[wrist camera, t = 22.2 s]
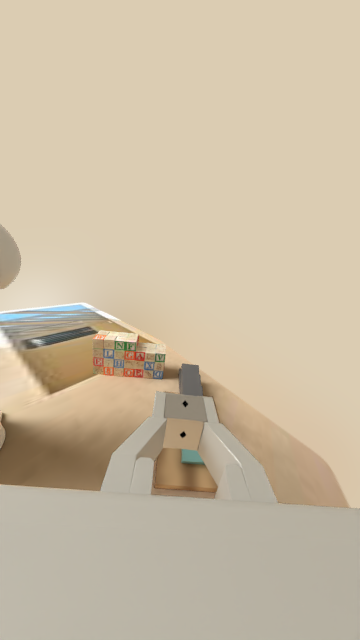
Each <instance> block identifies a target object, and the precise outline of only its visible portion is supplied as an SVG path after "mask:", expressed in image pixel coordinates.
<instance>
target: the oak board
mask: <svg viewBox="0 0 360 640" xmlns="http://www.w3.org/2000/svg"><path fill="white" fill-rule="evenodd" d="M165 393H166V392H165ZM168 393H173V392H168ZM175 394H180V393H175ZM205 397H212V396H205ZM212 398H213V397H212ZM213 401H214V400H213ZM214 405H215V404H214ZM216 412H217V411H216ZM217 416H218V415H217ZM218 420H219V419H218ZM181 457H182V449H177V448H163V449H162V450H161V452H160V454H159V455H158V457H157V467H156V477H155V488H163V489H178V490H192V491H206V492H217V489H218V486H217V484H216V482H215V481H214V479H213V477H212V476H211V474H210V472H209V470H208V469H207V467H206V465H201V464H187V463H181Z"/></svg>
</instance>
